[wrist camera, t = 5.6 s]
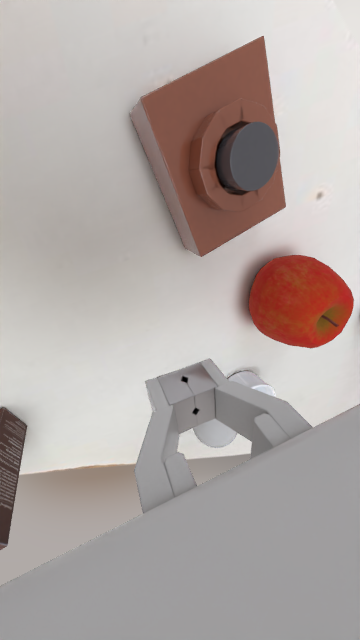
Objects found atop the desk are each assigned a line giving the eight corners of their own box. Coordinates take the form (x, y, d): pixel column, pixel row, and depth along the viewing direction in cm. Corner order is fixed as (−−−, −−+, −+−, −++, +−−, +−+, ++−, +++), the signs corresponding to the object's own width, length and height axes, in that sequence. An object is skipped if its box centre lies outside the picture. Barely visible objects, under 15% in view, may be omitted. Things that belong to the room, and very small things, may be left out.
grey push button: (208, 142, 17) (223, 137, 15) (254, 118, 17) (274, 110, 15) (224, 200, 19) (238, 201, 17) (264, 177, 19) (282, 175, 18)
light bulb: (171, 401, 36) (199, 464, 28) (178, 370, 33) (211, 428, 25) (205, 396, 38) (240, 452, 30) (213, 366, 36) (254, 419, 28)
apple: (227, 272, 29) (293, 307, 20) (299, 233, 30) (389, 251, 22) (244, 335, 35) (299, 382, 26) (302, 300, 36) (374, 335, 28)
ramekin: (205, 391, 38) (218, 412, 34) (249, 358, 38) (267, 375, 34) (225, 415, 43) (239, 435, 39) (264, 385, 43) (281, 403, 39)
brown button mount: (128, 113, 19) (147, 86, 14) (233, 60, 20) (285, 17, 15) (185, 248, 26) (211, 262, 21) (260, 205, 26) (302, 208, 22)
